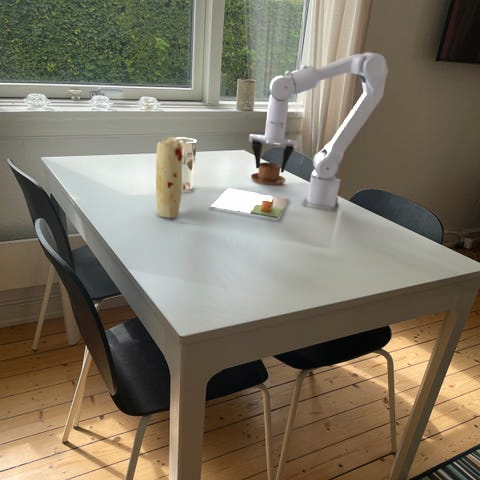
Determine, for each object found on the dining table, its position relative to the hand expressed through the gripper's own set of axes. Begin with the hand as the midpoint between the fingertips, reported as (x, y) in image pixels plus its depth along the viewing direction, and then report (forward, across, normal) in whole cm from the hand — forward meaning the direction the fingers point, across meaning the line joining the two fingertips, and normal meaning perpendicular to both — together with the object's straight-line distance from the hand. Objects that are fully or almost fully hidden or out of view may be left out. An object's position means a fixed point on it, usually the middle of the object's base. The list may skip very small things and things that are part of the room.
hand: (270, 169), depth 147 cm
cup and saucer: (+10, -3, +19) cm, 21 cm away
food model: (+10, -22, -28) cm, 37 cm away
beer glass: (+10, -26, -4) cm, 28 cm away
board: (+9, -3, -8) cm, 13 cm away
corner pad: (+8, +2, -14) cm, 16 cm away
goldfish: (+8, +2, -14) cm, 16 cm away
